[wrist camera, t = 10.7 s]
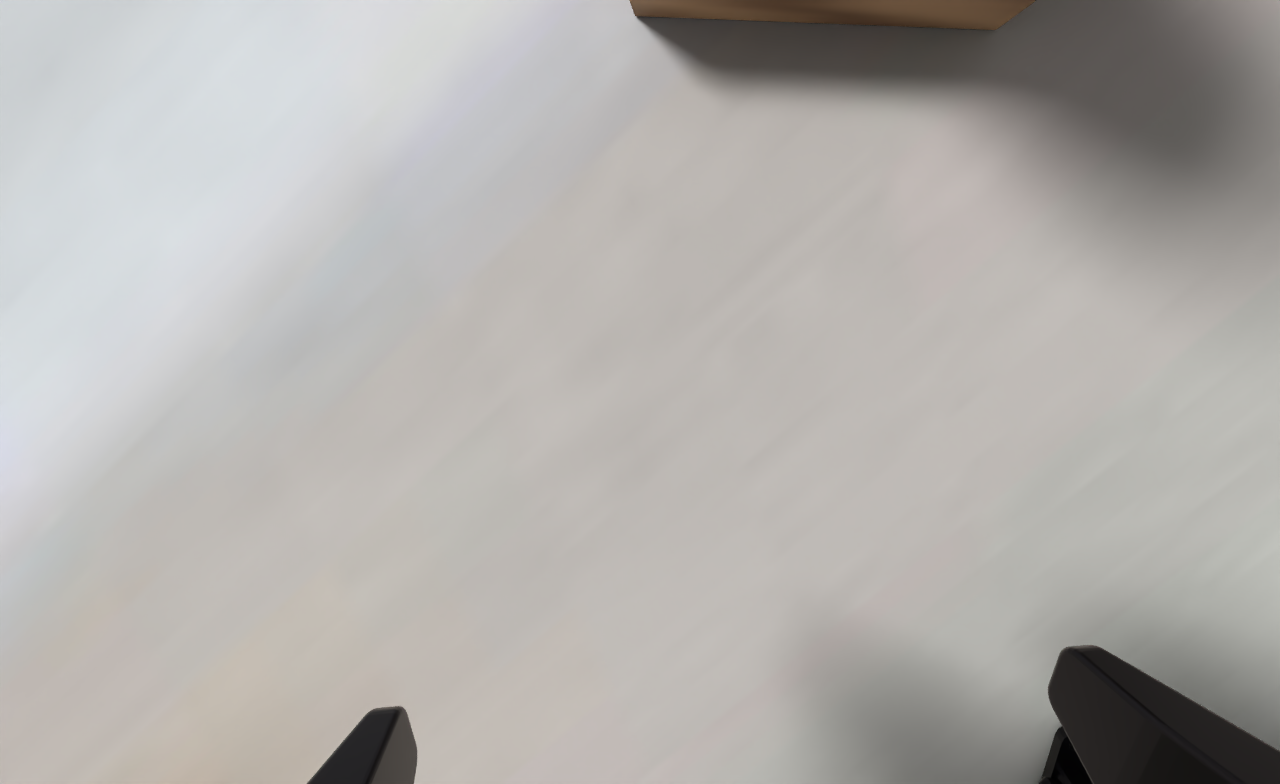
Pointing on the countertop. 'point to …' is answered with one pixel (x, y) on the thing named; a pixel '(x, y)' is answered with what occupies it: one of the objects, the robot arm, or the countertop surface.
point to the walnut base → (844, 11)
